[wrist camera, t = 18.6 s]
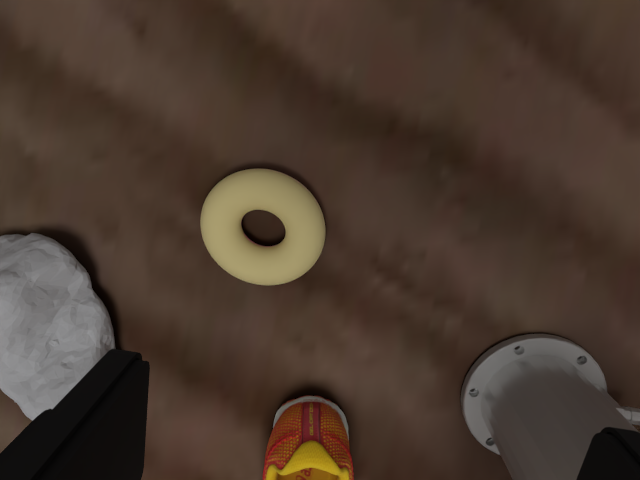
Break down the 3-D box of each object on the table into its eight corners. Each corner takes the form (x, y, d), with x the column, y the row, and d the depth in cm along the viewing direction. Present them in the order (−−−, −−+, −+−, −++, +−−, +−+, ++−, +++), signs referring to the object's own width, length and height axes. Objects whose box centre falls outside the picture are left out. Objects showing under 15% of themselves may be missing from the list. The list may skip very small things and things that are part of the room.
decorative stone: (-75, 266, 36) (-112, 287, 28) (50, 211, 41) (51, 215, 32) (44, 424, 42) (44, 481, 33) (143, 361, 46) (165, 398, 38)
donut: (294, 280, 41) (343, 194, 37) (294, 310, 37) (348, 217, 33) (190, 237, 39) (230, 141, 35) (176, 264, 35) (221, 159, 31)
